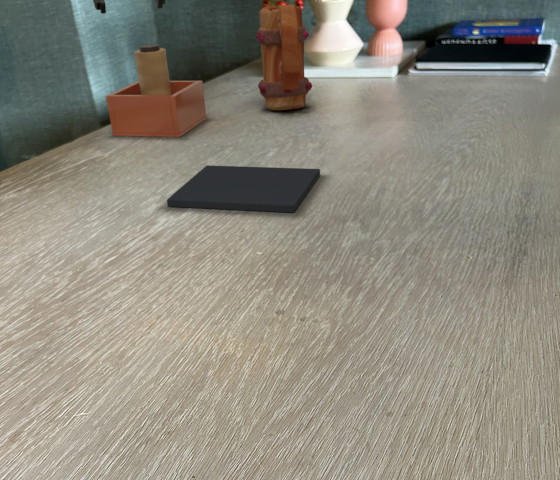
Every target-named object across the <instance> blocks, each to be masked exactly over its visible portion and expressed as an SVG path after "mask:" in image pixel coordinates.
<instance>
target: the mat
mask: <svg viewBox="0 0 560 480" xmlns="http://www.w3.org/2000/svg"><path fill="white" fill-rule="evenodd" d="M320 176H321V169H320V168H302V167H301V168H299V167H267V166H237V165H236V166H234V165H205V166H204V167H203V168H202V169H201V170H200V171H198V172H197V173H196V174H195V175H194V176H193V177H191V178H190V179H189V180H188V181H187V182H185V184H183V185H182V186H181V187H180V188H179V189H177V190H176V191H175V192H174V193H173V194H171V195H170V196H169V197H167V199H166V205H167V207H169V208H192V209H211V210H229V211H230V210H232V211H252V212H275V213H291V214H292V213H295V212H296V211H297V209H298V208H299V206H300V205H301V203H302V202H303V201H304V199H305V197H306V196H307V195H308V193H309V192H310V190H312V188H313V186H314V185H315V183H316V182H317V181H318V179H319V178H320Z"/></svg>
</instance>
